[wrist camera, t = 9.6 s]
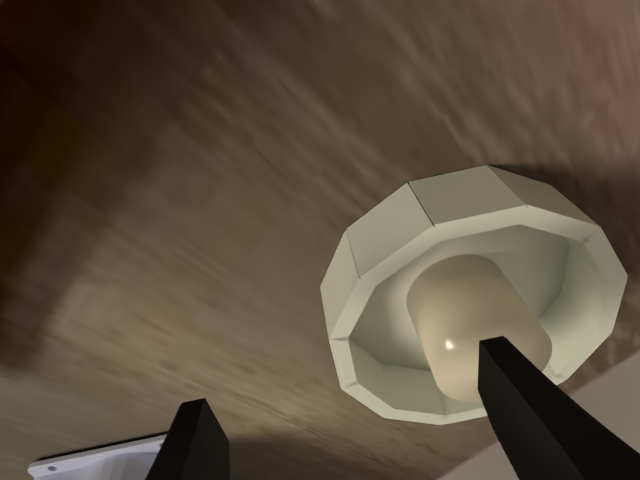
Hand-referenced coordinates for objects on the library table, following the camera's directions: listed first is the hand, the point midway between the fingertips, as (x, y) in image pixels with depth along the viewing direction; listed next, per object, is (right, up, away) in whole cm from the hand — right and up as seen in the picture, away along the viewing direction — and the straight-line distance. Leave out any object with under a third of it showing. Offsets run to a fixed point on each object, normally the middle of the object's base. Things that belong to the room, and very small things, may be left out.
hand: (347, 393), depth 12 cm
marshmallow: (+6, +1, +11) cm, 12 cm away
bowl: (+6, +2, +11) cm, 13 cm away
